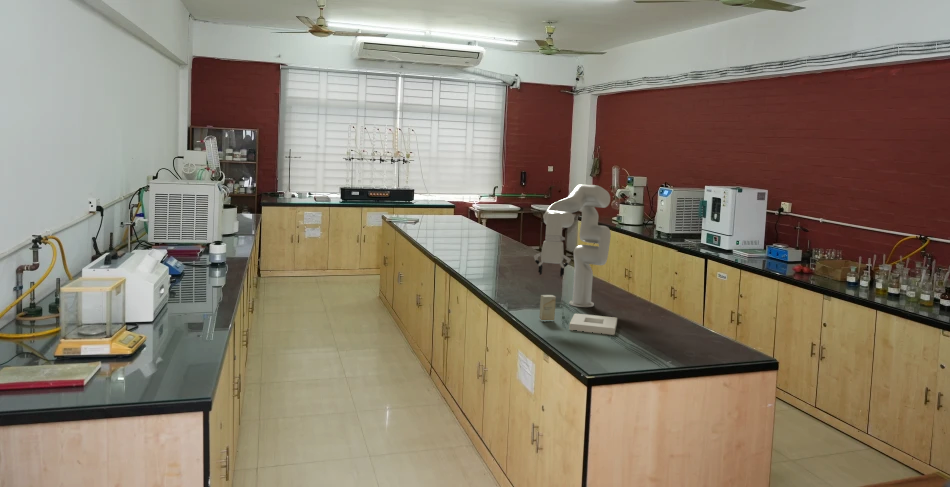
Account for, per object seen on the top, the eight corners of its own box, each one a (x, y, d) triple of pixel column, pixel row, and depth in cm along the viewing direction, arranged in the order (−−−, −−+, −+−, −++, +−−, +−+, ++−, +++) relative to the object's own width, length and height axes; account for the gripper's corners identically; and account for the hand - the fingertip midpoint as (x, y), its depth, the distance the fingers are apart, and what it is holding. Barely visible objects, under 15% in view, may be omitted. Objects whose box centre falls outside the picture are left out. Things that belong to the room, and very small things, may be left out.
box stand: (574, 319, 326) (574, 313, 326) (616, 323, 321) (617, 317, 321) (569, 330, 307) (569, 323, 306) (614, 334, 302) (614, 328, 301)
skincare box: (542, 322, 318) (543, 296, 317) (538, 319, 323) (540, 294, 321) (554, 321, 320) (556, 296, 318) (551, 319, 324) (552, 294, 323)
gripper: (573, 239, 318) (570, 275, 320) (536, 236, 322) (533, 272, 324) (571, 241, 311) (568, 278, 313) (533, 238, 315) (531, 274, 317)
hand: (550, 275), depth 318 cm, fingers open, 9 cm apart
